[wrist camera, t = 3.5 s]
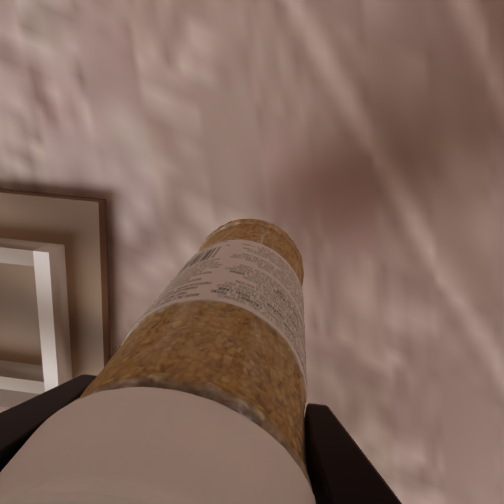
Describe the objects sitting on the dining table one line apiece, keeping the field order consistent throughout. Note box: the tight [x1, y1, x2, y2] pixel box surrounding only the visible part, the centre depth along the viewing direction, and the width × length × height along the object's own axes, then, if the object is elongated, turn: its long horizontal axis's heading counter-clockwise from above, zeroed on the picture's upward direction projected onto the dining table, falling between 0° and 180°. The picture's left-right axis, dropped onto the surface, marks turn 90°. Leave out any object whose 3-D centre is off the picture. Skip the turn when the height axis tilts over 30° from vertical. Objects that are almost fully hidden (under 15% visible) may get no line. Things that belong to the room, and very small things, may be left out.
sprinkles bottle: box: [0, 219, 316, 504], centre depth 11 cm, size 5×5×13 cm
